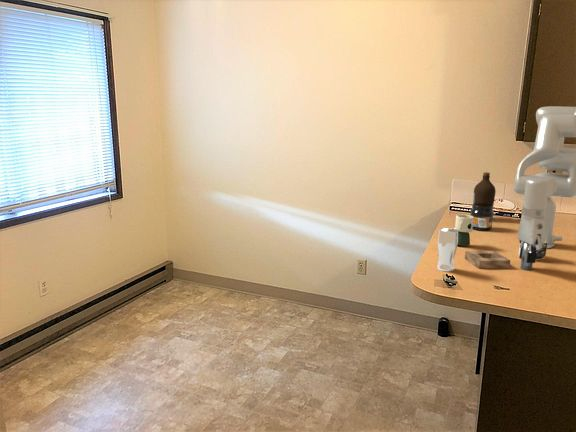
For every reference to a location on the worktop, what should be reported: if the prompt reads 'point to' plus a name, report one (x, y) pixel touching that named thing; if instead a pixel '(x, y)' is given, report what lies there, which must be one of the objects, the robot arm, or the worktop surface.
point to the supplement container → (482, 216)
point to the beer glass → (447, 248)
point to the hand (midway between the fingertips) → (527, 260)
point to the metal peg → (525, 257)
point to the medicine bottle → (540, 252)
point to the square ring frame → (487, 259)
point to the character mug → (464, 229)
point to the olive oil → (484, 191)
